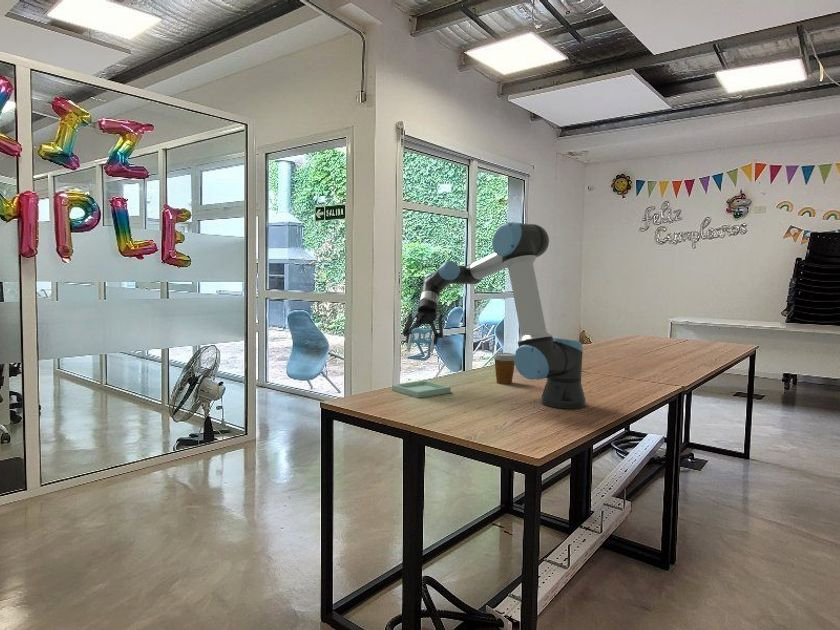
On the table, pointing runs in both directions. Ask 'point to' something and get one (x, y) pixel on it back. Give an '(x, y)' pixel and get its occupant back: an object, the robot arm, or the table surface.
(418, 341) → the chair
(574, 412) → the table surface
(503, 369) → the disposable coffee cup
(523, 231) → the robot arm
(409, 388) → the tray
